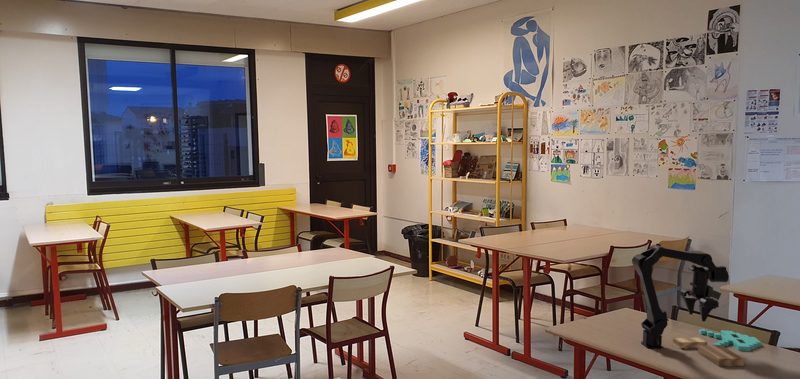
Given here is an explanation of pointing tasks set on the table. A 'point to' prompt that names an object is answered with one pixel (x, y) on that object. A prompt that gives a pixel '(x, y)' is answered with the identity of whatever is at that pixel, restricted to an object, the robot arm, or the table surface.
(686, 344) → the oak plank
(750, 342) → the alien figure
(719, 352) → the floor section
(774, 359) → the table surface
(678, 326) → the table surface
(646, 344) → the robot arm
